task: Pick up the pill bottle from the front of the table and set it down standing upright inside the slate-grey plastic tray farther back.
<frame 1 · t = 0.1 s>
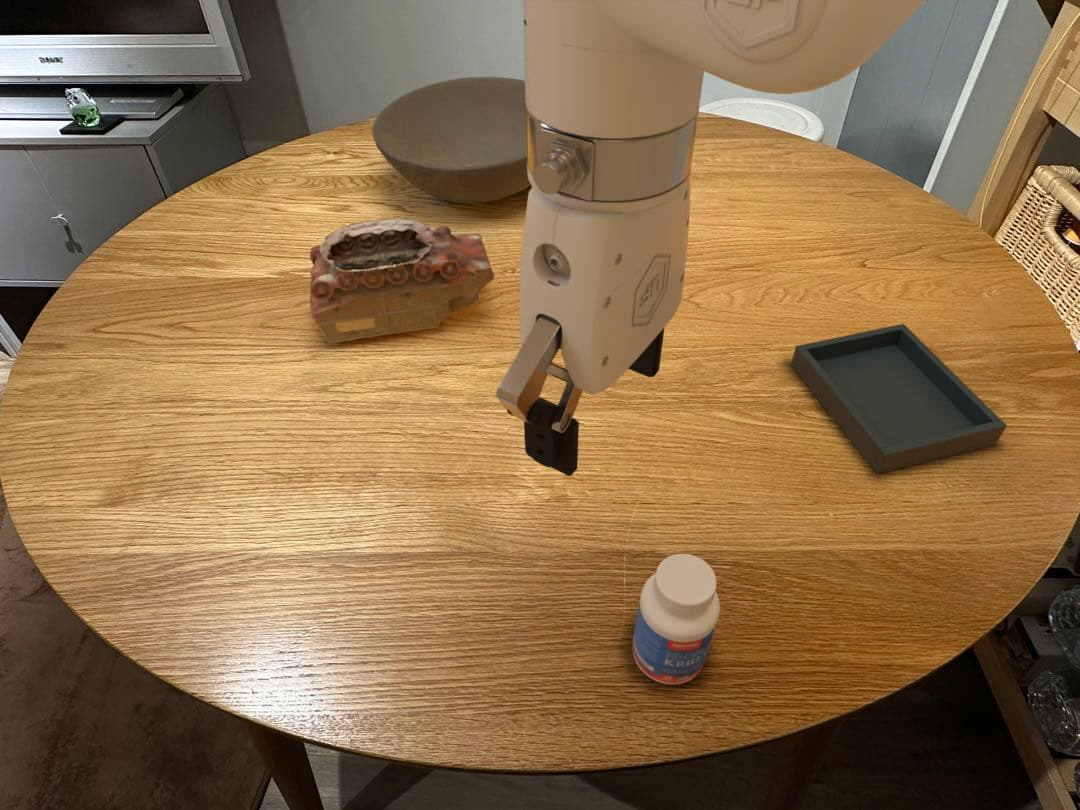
hand: (595, 412, 47), 20 cm above the table, tool pointing down, fingers open, 9 cm apart
bowl: (477, 185, 108), on the table
brown toy tank: (407, 310, 88), on the table
pill bottle: (668, 653, 57), on the table
tray: (887, 402, 76), on the table
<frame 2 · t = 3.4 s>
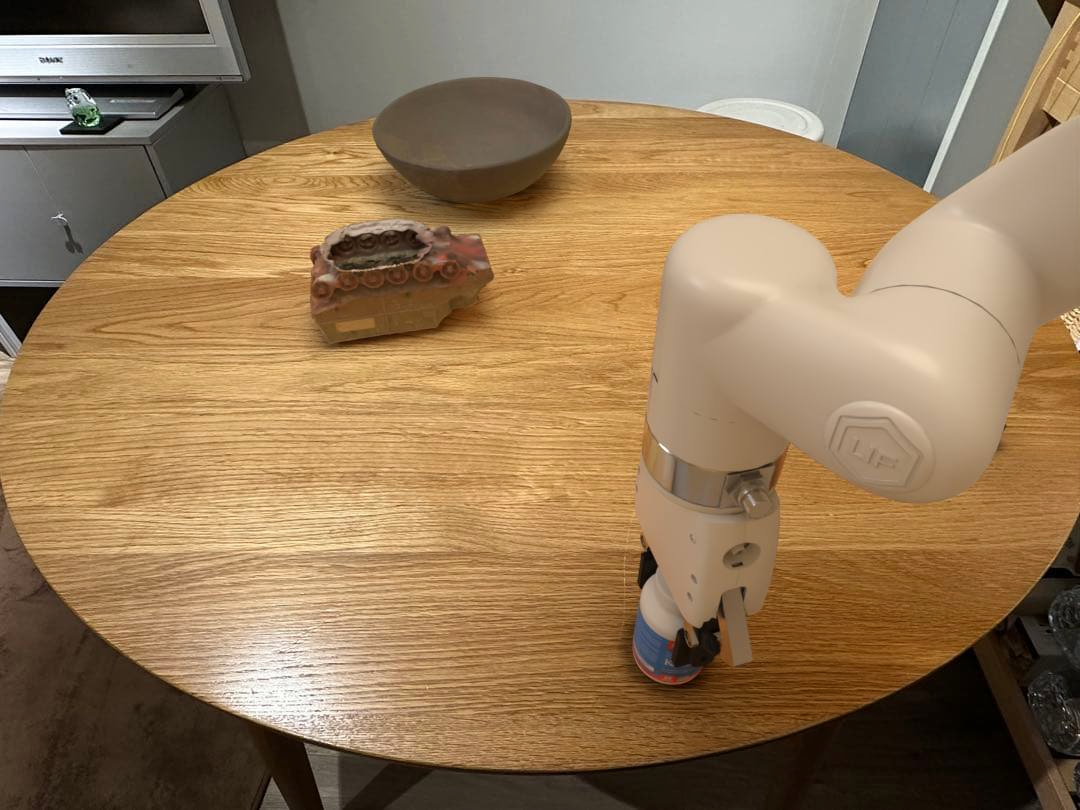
hand: (676, 617, 54), 5 cm above the table, tool pointing down, fingers closed on pill bottle, 5 cm apart
pill bottle: (668, 653, 57), on the table, touching gripper
everything else where it was.
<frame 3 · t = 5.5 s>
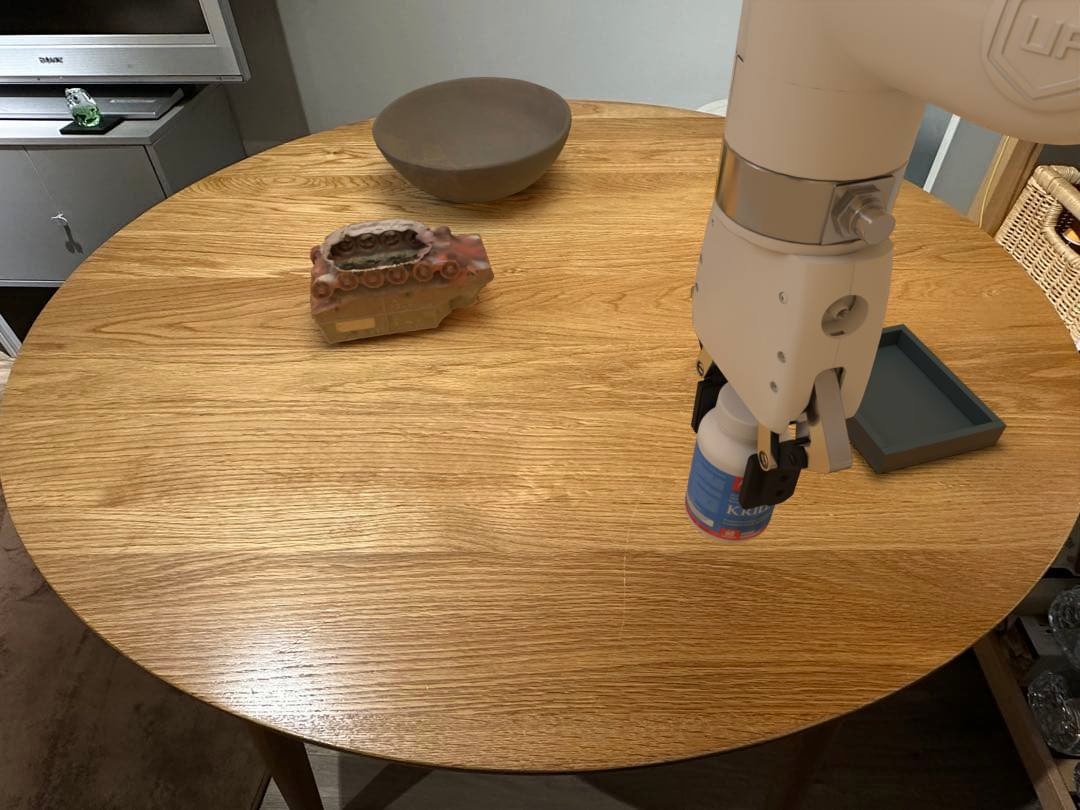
hand: (739, 459, 46), 19 cm above the table, tool pointing down, fingers closed on pill bottle, 5 cm apart
pill bottle: (726, 513, 49), point 14 cm above the table, touching gripper
everything else where it was.
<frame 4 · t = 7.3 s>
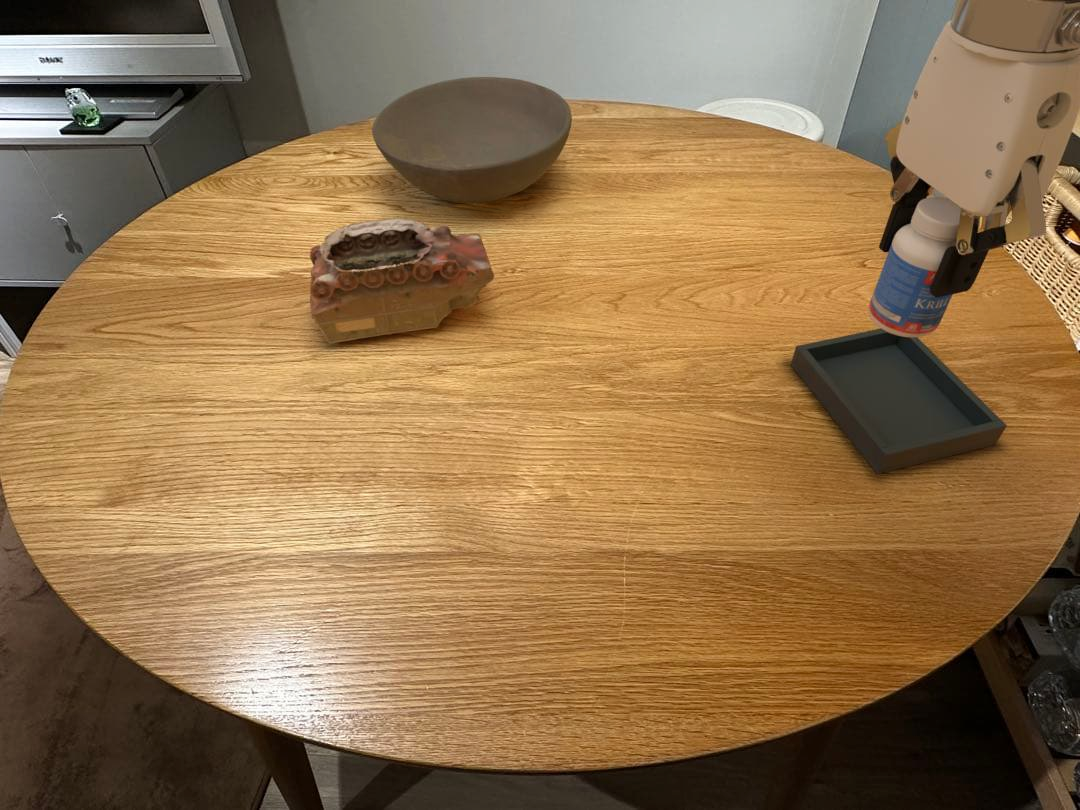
hand: (923, 267, 59), 19 cm above the table, tool pointing down, fingers closed on pill bottle, 5 cm apart
pill bottle: (901, 320, 62), point 14 cm above the table, touching gripper
everything else where it was.
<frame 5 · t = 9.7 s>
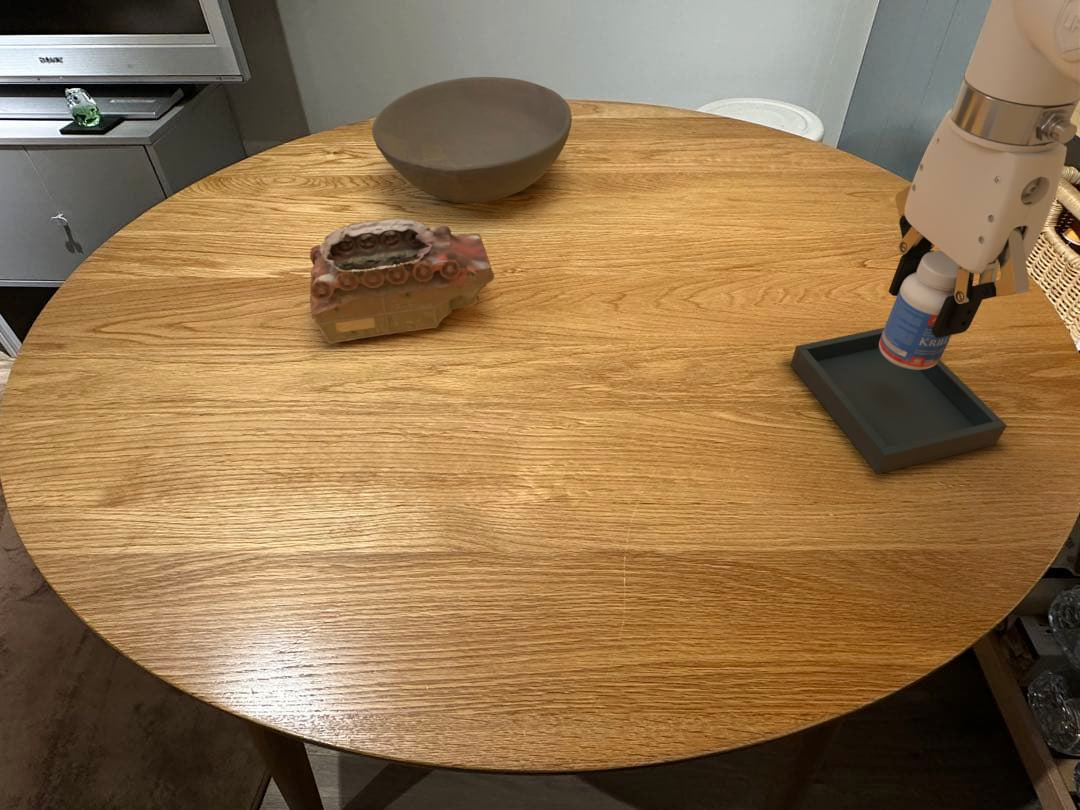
hand: (926, 310, 68), 11 cm above the table, tool pointing down, fingers closed on pill bottle, 5 cm apart
pill bottle: (907, 354, 71), point 6 cm above the table, touching gripper
everything else where it was.
when the fingers open (5 cm above the table, at t = 11.5 s): pill bottle stays where it is, resting on tray.
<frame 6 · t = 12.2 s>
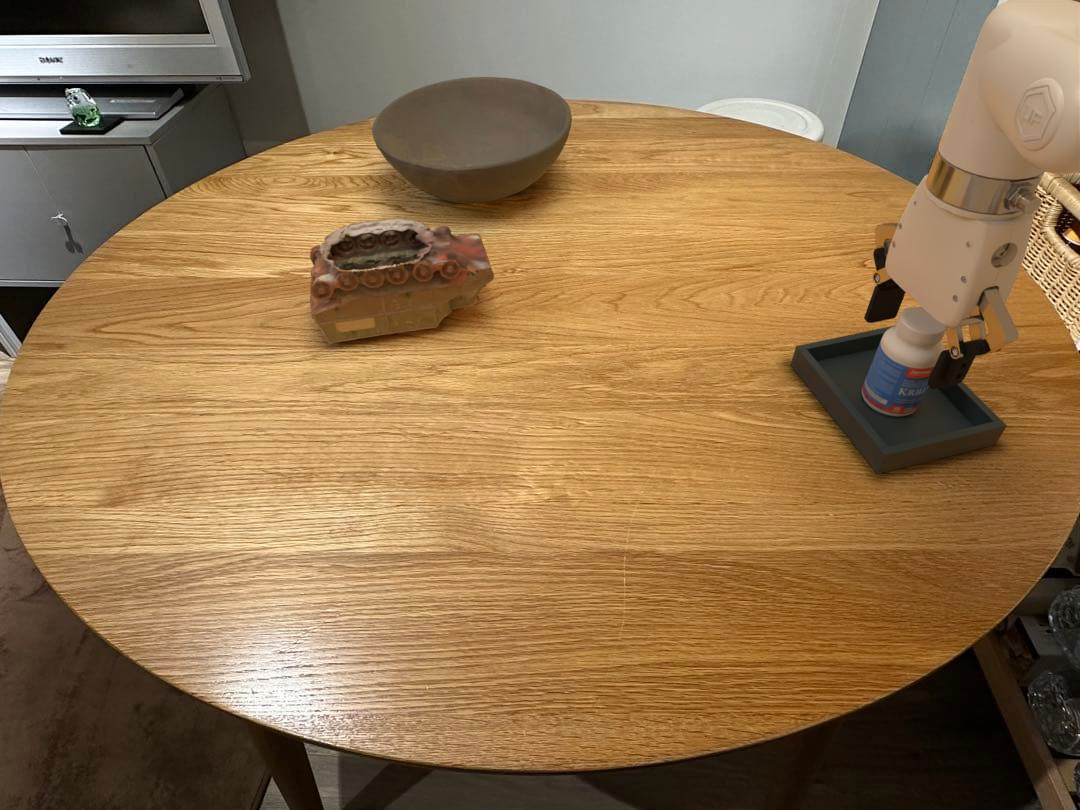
hand: (910, 350, 71), 7 cm above the table, tool pointing down, fingers open, 9 cm apart
pill bottle: (889, 400, 75), resting on tray
everything else where it was.
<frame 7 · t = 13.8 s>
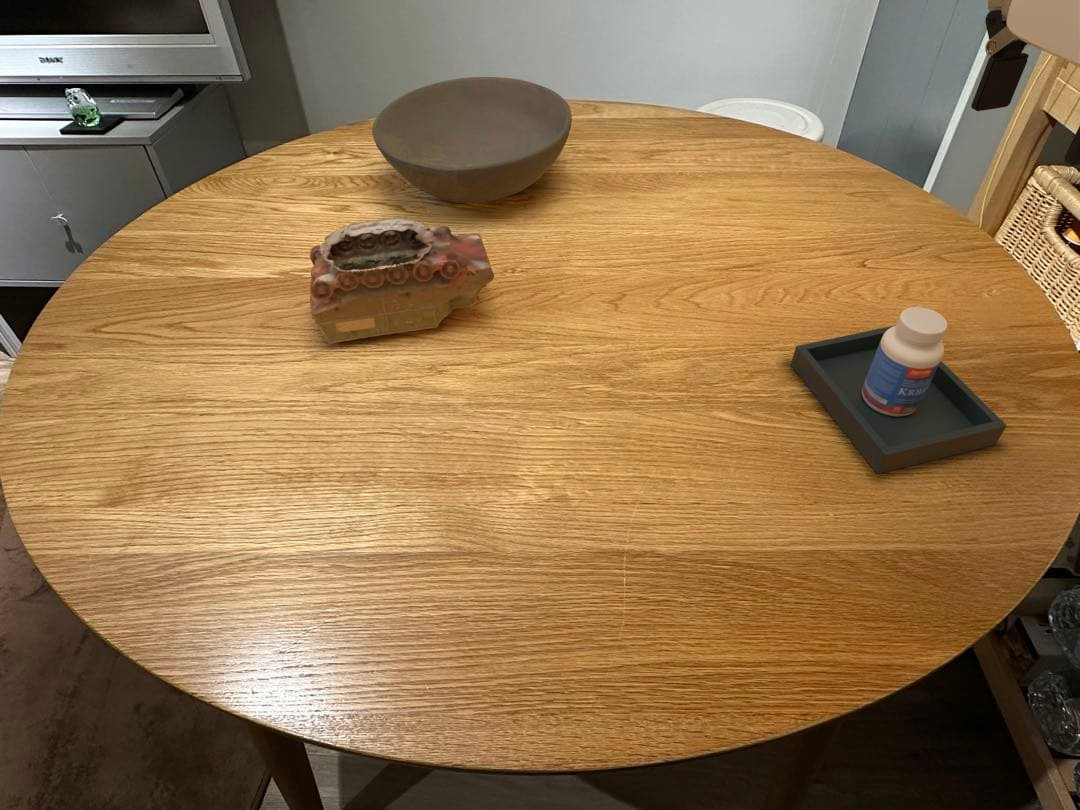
hand: (1033, 133, 58), 27 cm above the table, tool pointing down, fingers open, 9 cm apart
nothing on the table moved.
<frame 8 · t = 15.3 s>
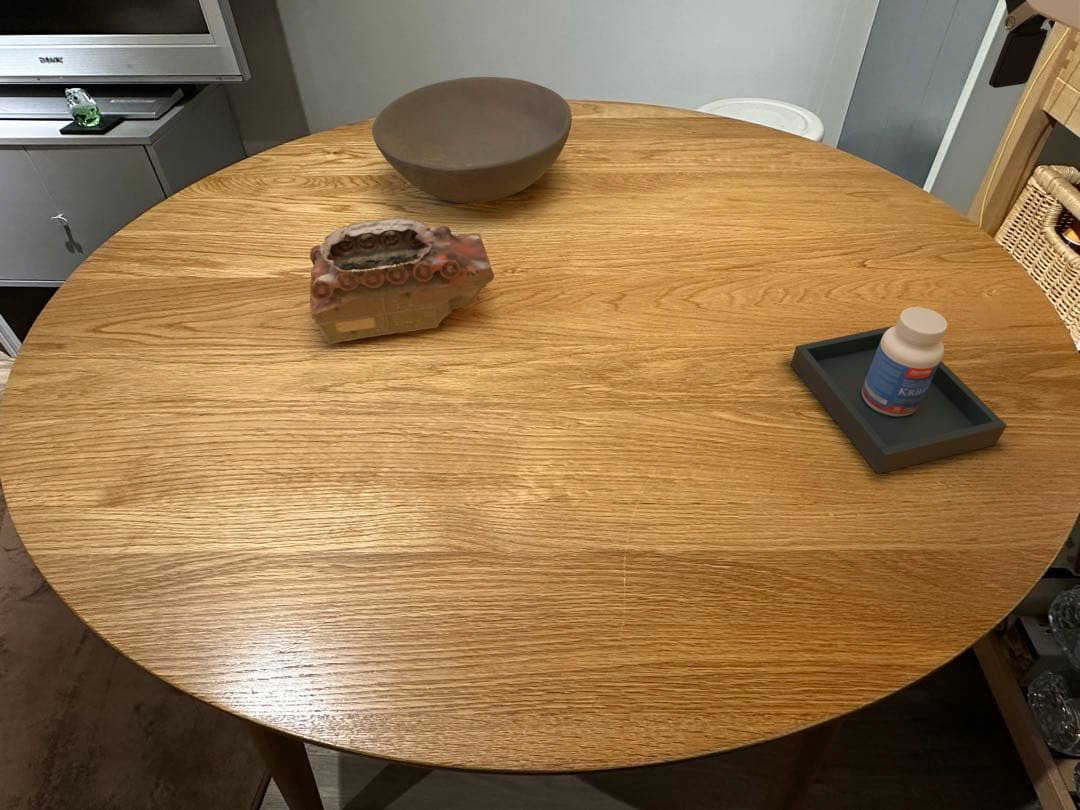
hand: (1051, 109, 58), 28 cm above the table, tool pointing down, fingers open, 9 cm apart
nothing on the table moved.
at the end: pill bottle inside the target area in the tray (0.1 cm from its centre), point 0.4 cm above the tray's base; pill bottle tilted 0°; the gripper is holding nothing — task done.
